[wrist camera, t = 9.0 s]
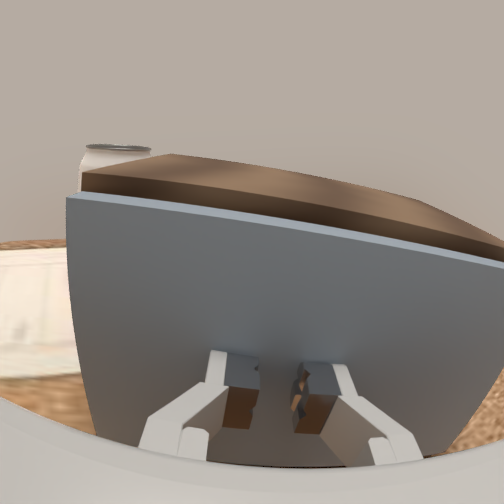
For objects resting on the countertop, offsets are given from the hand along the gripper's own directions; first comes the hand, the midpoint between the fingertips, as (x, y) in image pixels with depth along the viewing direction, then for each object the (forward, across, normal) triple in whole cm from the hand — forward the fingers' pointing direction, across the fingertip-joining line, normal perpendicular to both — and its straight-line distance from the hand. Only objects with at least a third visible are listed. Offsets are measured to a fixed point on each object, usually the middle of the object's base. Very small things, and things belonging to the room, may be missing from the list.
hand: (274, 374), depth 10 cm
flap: (+1, -2, +6) cm, 6 cm away
